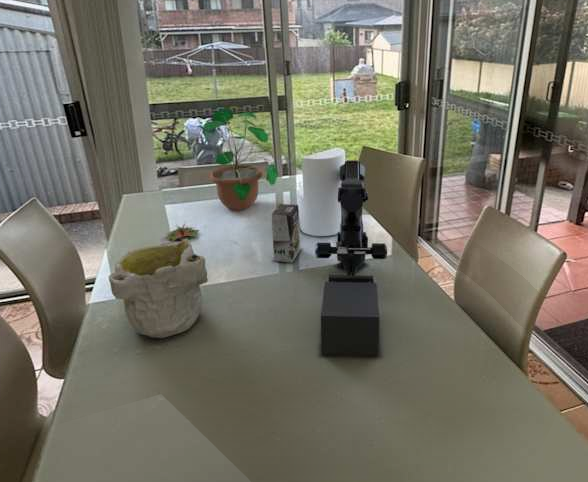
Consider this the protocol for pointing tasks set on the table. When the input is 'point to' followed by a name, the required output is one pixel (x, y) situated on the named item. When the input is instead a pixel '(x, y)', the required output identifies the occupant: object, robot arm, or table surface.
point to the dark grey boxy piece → (350, 278)
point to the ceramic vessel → (160, 287)
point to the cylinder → (321, 193)
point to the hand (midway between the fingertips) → (350, 283)
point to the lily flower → (182, 233)
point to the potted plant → (237, 179)
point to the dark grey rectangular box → (350, 319)
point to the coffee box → (286, 232)
